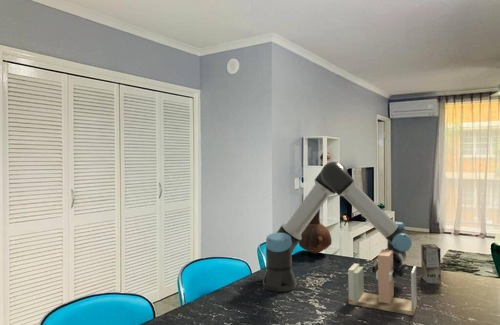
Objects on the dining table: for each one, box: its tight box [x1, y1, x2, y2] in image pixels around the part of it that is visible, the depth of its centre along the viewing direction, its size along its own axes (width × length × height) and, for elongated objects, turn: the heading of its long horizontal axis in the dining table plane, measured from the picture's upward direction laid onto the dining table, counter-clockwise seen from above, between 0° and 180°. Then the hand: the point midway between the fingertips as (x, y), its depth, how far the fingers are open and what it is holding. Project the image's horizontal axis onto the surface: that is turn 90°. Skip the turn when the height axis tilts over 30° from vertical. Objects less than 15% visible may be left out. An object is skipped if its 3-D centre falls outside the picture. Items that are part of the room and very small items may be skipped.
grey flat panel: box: [410, 265, 418, 311], centre depth 138 cm, size 1×10×14 cm, turn 150°
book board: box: [348, 292, 418, 316], centre depth 144 cm, size 24×11×2 cm, turn 60°
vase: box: [298, 204, 333, 255], centre depth 222 cm, size 25×20×30 cm
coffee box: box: [420, 243, 442, 284], centre depth 171 cm, size 9×6×16 cm
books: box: [347, 262, 365, 301], centre depth 149 cm, size 4×10×12 cm, turn 150°
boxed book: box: [377, 249, 395, 304], centre depth 143 cm, size 4×10×18 cm, turn 150°
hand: (383, 276), depth 138 cm, fingers closed on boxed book, 4 cm apart
